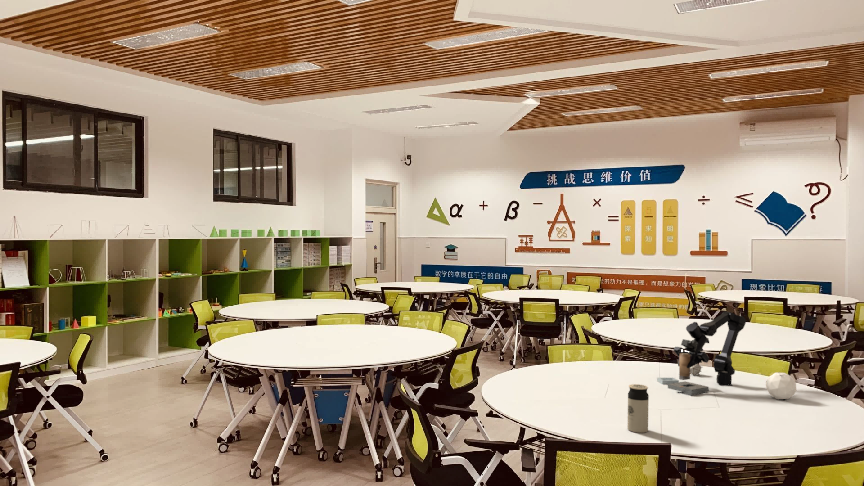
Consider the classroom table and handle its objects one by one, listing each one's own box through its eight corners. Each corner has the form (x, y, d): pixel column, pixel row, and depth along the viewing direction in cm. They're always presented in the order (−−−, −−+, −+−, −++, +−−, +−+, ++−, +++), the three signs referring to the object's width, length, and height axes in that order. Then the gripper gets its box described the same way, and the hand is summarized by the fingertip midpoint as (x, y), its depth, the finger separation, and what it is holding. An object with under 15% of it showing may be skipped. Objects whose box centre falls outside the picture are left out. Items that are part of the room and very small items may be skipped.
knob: (684, 377, 329) (684, 352, 329) (692, 379, 324) (692, 354, 324) (677, 378, 327) (677, 353, 327) (685, 380, 322) (685, 354, 322)
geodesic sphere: (804, 393, 299) (798, 367, 307) (772, 391, 301) (767, 365, 309) (795, 405, 310) (789, 379, 318) (765, 403, 313) (760, 378, 321)
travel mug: (643, 427, 260) (644, 384, 259) (651, 433, 252) (651, 388, 252) (624, 427, 259) (625, 383, 259) (631, 433, 251) (632, 388, 251)
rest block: (672, 383, 342) (673, 377, 342) (678, 386, 335) (678, 380, 335) (656, 383, 342) (656, 377, 342) (662, 386, 335) (662, 380, 335)
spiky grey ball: (697, 381, 362) (706, 370, 357) (684, 376, 363) (693, 364, 357) (695, 371, 370) (704, 360, 365) (682, 366, 370) (690, 354, 365)
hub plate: (684, 386, 333) (684, 381, 333) (708, 392, 321) (708, 386, 321) (667, 390, 326) (667, 384, 326) (691, 395, 314) (691, 389, 314)
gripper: (675, 331, 335) (661, 353, 330) (705, 336, 319) (690, 359, 314) (685, 345, 339) (671, 367, 334) (715, 350, 323) (701, 374, 318)
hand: (682, 366), depth 325 cm, fingers closed on knob, 5 cm apart
